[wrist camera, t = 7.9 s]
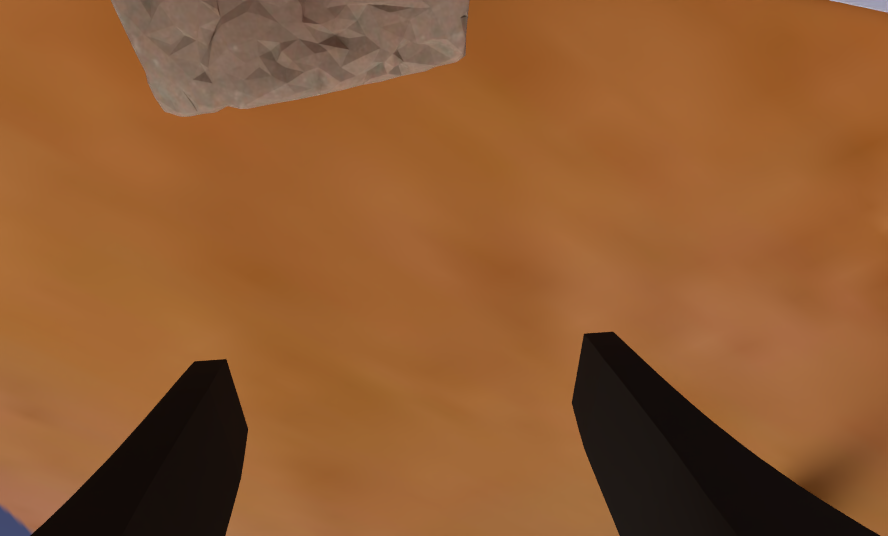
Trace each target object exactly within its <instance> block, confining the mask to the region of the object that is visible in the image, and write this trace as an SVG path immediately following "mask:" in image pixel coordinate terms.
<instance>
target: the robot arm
mask: <svg viewBox="0 0 888 536" xmlns="http://www.w3.org/2000/svg"><path fill="white" fill-rule="evenodd" d="M831 1H836V2H841V3H846V4H850V5H855V6H860V7H864V8H869V9H874V10H879V11H883V12H888V0H831ZM572 405H573V409H574V413H575V417H576V421H577V424H578V428H579V432H580V435H581V439H582V442H583V446H584V449H585V452H586V454H587V457H588V459H589V462H590V464H591V467H592V469H593V472H594V474H595V476H596V479H597V481H598V484H599V486H600V489H601V491H602V494H603V496H604V498H605V501H606V503H607V506H608V508H609V511H610V513H611V515H612V518H613V520H614V523H615V525H616V528H617V530H618V532H619V535H620V536H880V535H878V534H877V533H875V532H873V531H871V530H870V529H868V528H866V527H864V526H863V525H861V524H859V523H858V522H856V521H855V520H853V519H851V518H850V517H848V516H846V515H845V514H843V513H842V512H840V511H838V510H837V509H835V508H833V507H832V506H830V505H829V504H827V503H825V502H824V501H822V500H821V499H819V498H817V497H816V496H814V495H813V494H811V493H810V492H808V491H807V490H805V489H804V488H802V487H801V486H799V485H798V484H796V483H795V482H793V481H792V480H790V479H789V478H788V477H786V476H785V475H783V474H782V473H780V472H779V471H778V470H776V469H775V468H773V467H772V466H770V465H769V464H768V463H766V462H765V461H763V460H762V459H760V458H759V457H758V456H756V455H755V454H754V453H752V452H751V451H750V450H748V449H747V448H746V447H744V446H743V445H742V444H740V443H739V442H738V441H737V440H735V439H734V438H733V437H732V436H730V435H729V434H728V433H727V432H725V431H724V430H723V429H721V428H720V427H719V426H718V425H716V424H715V423H714V422H713V421H711V420H710V419H709V418H708V417H707V416H705V415H704V414H703V413H702V412H701V411H700V410H698V409H697V408H696V407H695V406H694V405H692V404H691V403H690V402H689V401H688V400H687V399H686V398H684V397H683V396H682V395H681V394H680V393H679V392H678V391H676V390H675V389H674V388H673V387H672V386H671V385H670V384H669V383H668V382H666V381H665V380H664V379H663V378H662V377H661V376H660V375H659V374H658V373H657V372H656V371H654V370H653V369H652V368H651V367H650V366H649V365H648V364H647V363H646V362H645V361H644V360H643V359H642V358H641V357H640V356H638V355H637V354H636V353H635V352H634V351H633V350H632V349H631V348H630V347H629V346H628V345H627V344H626V343H625V342H624V341H622V340H621V339H620V338H619V337H618V336H617V335H616V334H615V333H614V332H602V333H588V334H584V337H583V343H582V348H581V354H580V360H579V365H578V371H577V377H576V382H575V388H574V393H573V399H572ZM247 433H248V427H247V424H246V421H245V417H244V414H243V411H242V408H241V405H240V401H239V398H238V395H237V392H236V389H235V386H234V382H233V379H232V376H231V373H230V370H229V366H228V363H227V360H226V359H223V360H209V361H195V362H194V363H193V364H192V365H191V366H190V367H189V368H188V369H187V370H186V371H185V373H184V374H183V375H182V376H181V377H180V378H179V379H178V381H177V382H176V383H175V384H174V385H173V386H172V388H171V389H170V390H169V391H168V392H167V393H166V395H165V396H164V397H163V398H162V399H161V400H160V402H159V403H158V404H157V405H156V406H155V407H154V409H153V410H152V411H151V412H150V413H149V414H148V415H147V417H146V418H145V419H144V420H143V421H142V422H141V423H140V424H139V426H138V427H137V428H136V429H135V430H134V431H133V432H132V433H131V435H130V436H129V437H128V438H127V439H126V440H125V441H124V442H123V443H122V445H121V446H120V447H119V448H118V449H117V450H116V451H115V452H114V453H113V454H112V455H111V457H110V458H109V459H108V460H107V461H106V462H105V463H104V464H103V465H102V466H101V467H100V468H99V469H98V470H97V471H96V472H95V473H94V474H93V475H92V476H91V477H90V478H89V479H88V480H87V481H86V482H85V483H84V484H83V486H82V487H81V488H80V489H79V490H78V491H77V492H76V493H75V494H74V495H73V496H72V497H71V498H70V499H69V500H68V501H67V502H66V503H65V504H64V505H63V506H62V507H61V508H59V509H58V510H57V511H56V512H55V513H54V514H53V515H52V516H51V517H50V518H49V519H48V520H47V521H46V522H45V523H44V524H43V525H42V526H41V527H39V528H38V529H37V530H36V531H35V532H34V533H33V534H32V535H31V536H225V535H226V531H227V527H228V524H229V520H230V517H231V513H232V509H233V506H234V502H235V498H236V495H237V491H238V487H239V483H240V480H241V474H242V468H243V462H244V455H245V448H246V441H247Z"/></svg>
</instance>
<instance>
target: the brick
mask: <svg viewBox="0 0 888 536" xmlns="http://www.w3.org/2000/svg"><path fill="white" fill-rule="evenodd" d="M111 2H112V4H113V6H114V8H115V10H116V12H117V14H118V16H119V19H120V21H121V23H122V25H123V27H124V29H125V31H126V33H127V36H128V38H129V40H130V42H131V44H132V46H133V48H134V50H135V53H136V55H137V57H138V59H139V60H140V62H141V64H142V66H143V68H144V70H145V72H146V77H147V81H148V84H149V86H150V88H151V90H152V93H153V95H154V97H155V99H156V100H157V101H158V103H159V104H160V106H161V107H162V109H163V110H164V111H165V112H168V113H171V114H174V115H177V116H181V117H185V116H194V115H199V114H204V113H215V112H218V111H219V110H221V109H223V108H225V107H227V106H230V107H235V108H239V109H250V108H254V107H259V106H264V105H269V104H274V103H280V102H286V101H292V100H297V99H302V98H307V97H312V96H317V95H321V94H326V93H331V92H335V91H340V90H344V89H348V88H352V87H356V86H359V85H363V84H369V83H375V82H381V81H385V80H389V79H392V78H396V77H399V76H403V75H408V74H413V73H419V72H424V71H427V70H429V69H431V68H434V67H436V66H441V65H445V64H450V63H454V62H457V61H458V60H460V59H461V58H463V57H464V56H465V53H466V29H467V19H468V9H469V0H111Z"/></svg>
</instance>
